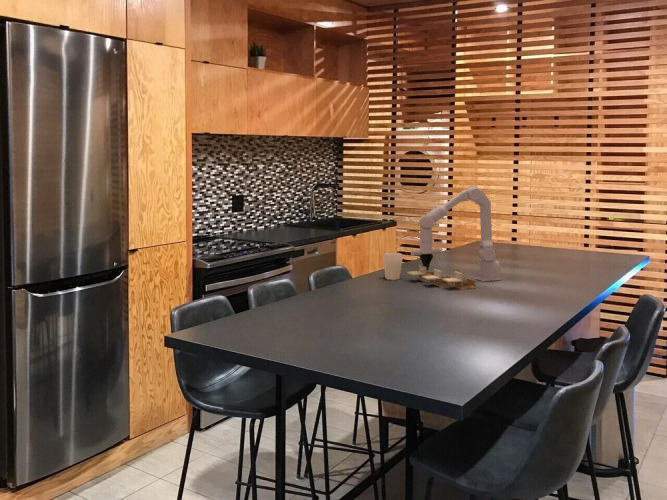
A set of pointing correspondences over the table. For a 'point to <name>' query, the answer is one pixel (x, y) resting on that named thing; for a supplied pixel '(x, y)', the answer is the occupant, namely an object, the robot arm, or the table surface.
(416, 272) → the lid
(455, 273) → the lid
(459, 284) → the crates
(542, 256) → the table surface
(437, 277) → the lid
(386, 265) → the cup
